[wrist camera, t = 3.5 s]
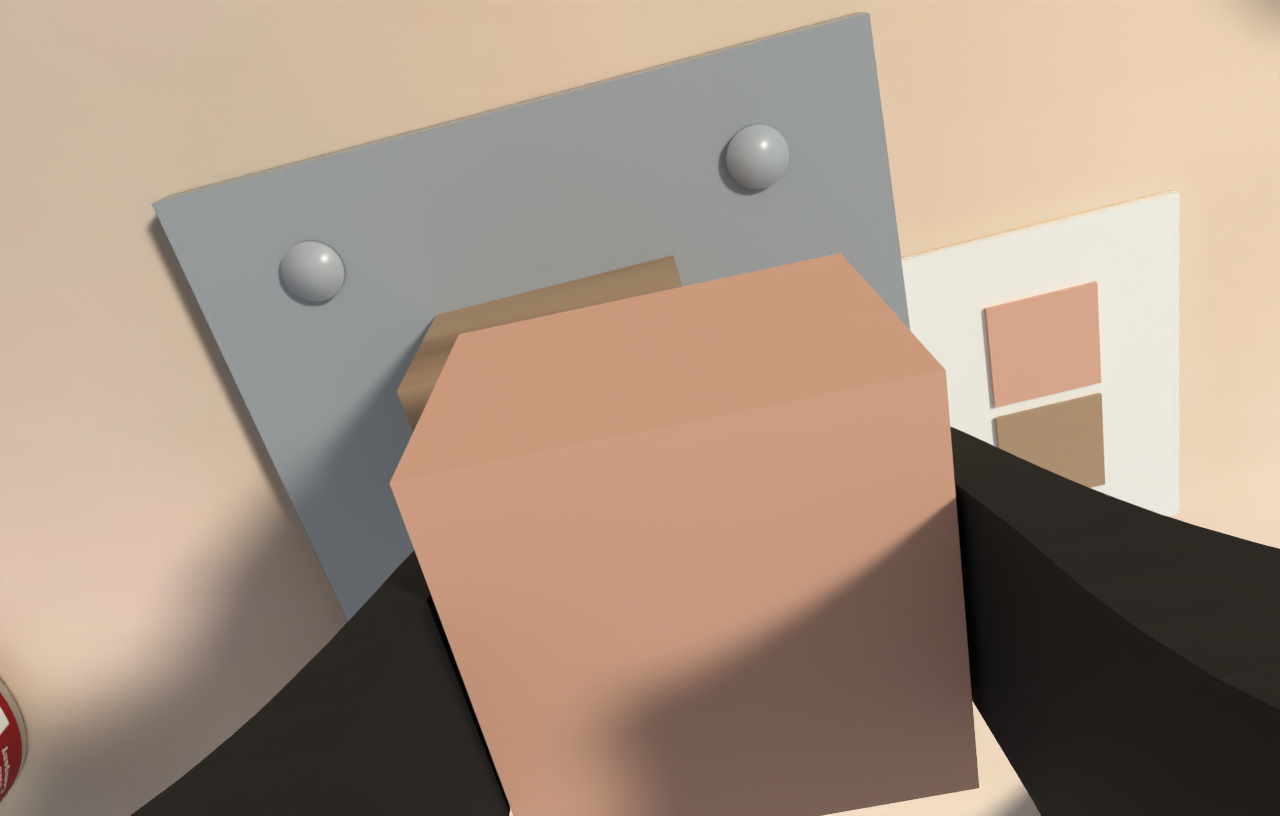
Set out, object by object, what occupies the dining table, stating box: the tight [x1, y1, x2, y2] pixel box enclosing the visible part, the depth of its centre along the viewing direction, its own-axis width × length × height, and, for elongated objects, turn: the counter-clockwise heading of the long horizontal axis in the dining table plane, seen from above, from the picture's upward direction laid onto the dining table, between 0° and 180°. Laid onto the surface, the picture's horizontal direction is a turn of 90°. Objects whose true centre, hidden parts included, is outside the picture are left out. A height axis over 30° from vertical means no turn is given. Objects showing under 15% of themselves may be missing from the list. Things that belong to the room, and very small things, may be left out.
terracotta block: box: [390, 253, 979, 816], centre depth 11 cm, size 5×5×4 cm
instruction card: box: [901, 190, 1179, 517], centre depth 21 cm, size 8×6×1 cm
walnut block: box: [397, 255, 683, 432], centre depth 18 cm, size 5×5×4 cm
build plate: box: [152, 13, 910, 621], centre depth 20 cm, size 14×14×1 cm
